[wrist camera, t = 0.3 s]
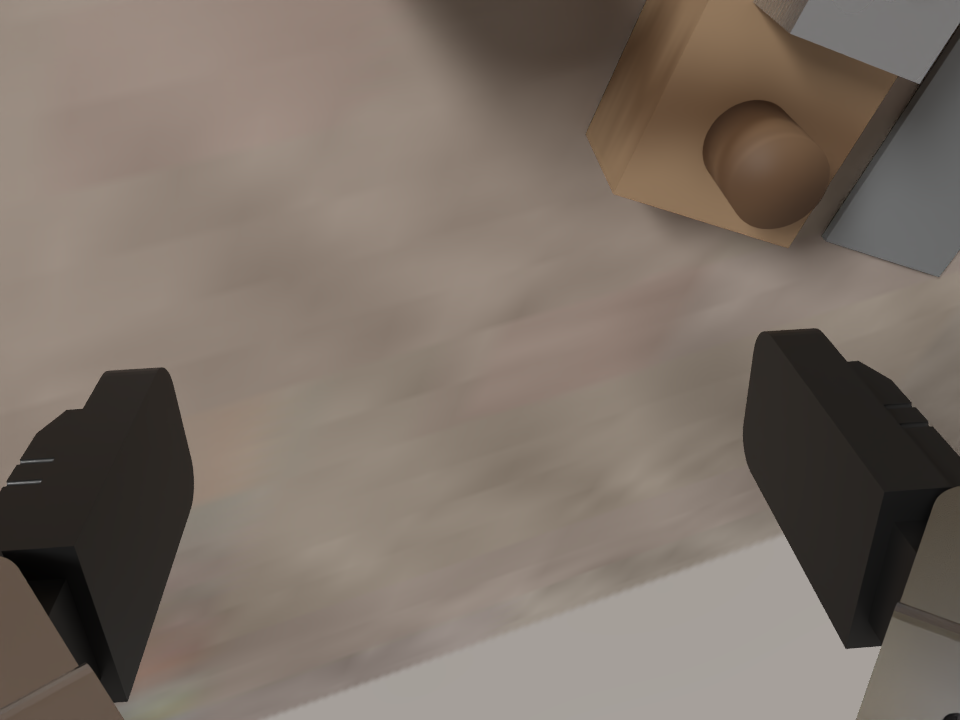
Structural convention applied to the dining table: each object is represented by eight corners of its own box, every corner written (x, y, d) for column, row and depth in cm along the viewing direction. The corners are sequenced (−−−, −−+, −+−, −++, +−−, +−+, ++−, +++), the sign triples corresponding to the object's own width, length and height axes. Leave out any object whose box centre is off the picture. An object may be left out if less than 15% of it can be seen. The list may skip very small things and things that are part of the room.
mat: (974, 3, 32) (980, 6, 32) (1097, 56, 34) (1104, 60, 34) (821, 236, 38) (825, 240, 37) (934, 272, 39) (938, 277, 39)
